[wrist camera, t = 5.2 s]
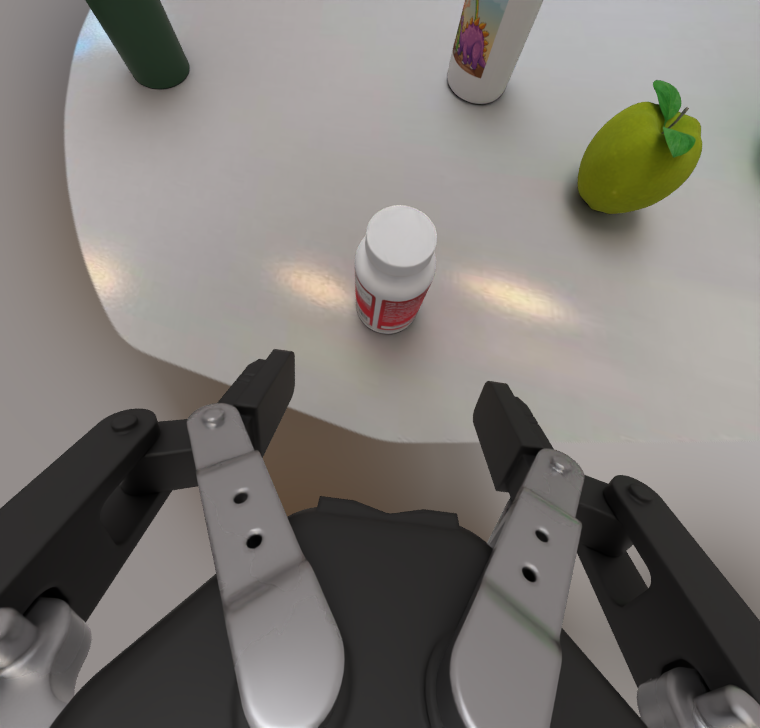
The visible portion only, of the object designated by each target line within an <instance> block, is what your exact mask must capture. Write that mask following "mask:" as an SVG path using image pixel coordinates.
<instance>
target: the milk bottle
mask: <svg viewBox="0 0 760 728" xmlns="http://www.w3.org/2000/svg"><path fill="white" fill-rule="evenodd" d="M542 2H543V0H465V3H464V7H463V11H462V15H461V19H460V23H459V27H458V31H457V35H456V39H455V43H454V47H453V51H452V55H451V59H450V63H449V68H448V73H447V74H448V83H449V86H450V87H451V89H452V91H453V92H454V93H455V94H456V95H457V96H459V97H460V98H462V99H464V100H466V101H468V102H471V103H476V104H485V103H490V102H492V101H494V100H496V99H497V98H499V97H500V95H501V94H502V93H503V92H504V90H505V88H506V86H507V84H508V82H509V79H510V77H511V75H512V72H513V70H514V68H515V65H516V63H517V61H518V58H519V56H520V54H521V51H522V49H523V47H524V44H525V42H526V40H527V37H528V35H529V33H530V30H531V28H532V26H533V23H534V21H535V19H536V16H537V14H538V12H539V9H540V7H541V4H542Z"/></svg>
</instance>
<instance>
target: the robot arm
mask: <svg viewBox="0 0 760 728" xmlns="http://www.w3.org/2000/svg"><path fill="white" fill-rule="evenodd" d="M294 386H295V356H294V352H292V351H285V350H278V349H274V350H273V351H272V352H271V354H270V355H269V356H268V358H267V359H266V360H263V359H258V360H257V361H255V362H253V363H251V364H249V365H248V366H247V367H246V369H245V370H244V371H243V372H242V374H241V375H240V376H239V377H238V378H237V381H235V382H234V383H233V384H232V386H231V387H230V388H229V389H228V391H227V392H226V393H225V394H224V395H223V397H222V398H221V399H220V400H219V402H218V403H216V404H210V405H206V406H204V407H201V408H199V409H197V410H196V411H194V412H193V413H192V414H191V415H190V416H189V418H188V419H184V420H173V421H161V422H158V421H157V418H156V416H155V414H154V413H153V412H152V411H150V410H146V409H129V410H124V411H120V412H118V413H115V414H113V415H110V416H108V417H107V418H105V419H103V420H102V421H101V422H99V423H98V424H97V425H96V426H95V427H94V428H92V429H91V430H90V431H89V432H88V433H87V434H85V435H84V436H83V437H82V438H81V439H80V440H78V441H77V442H76V443H75V444H74V445H73V446H72V447H70V448H69V449H68V450H67V451H66V452H65V453H64V454H62V455H61V456H60V457H59V458H58V459H57V460H56V461H54V462H53V463H52V464H51V465H50V466H49V467H48V468H46V469H45V470H44V471H43V472H42V473H41V474H39V475H38V476H37V477H36V478H35V479H34V480H32V481H31V482H30V483H29V484H28V485H27V486H26V487H25V488H23V489H22V490H21V491H20V492H19V493H18V494H16V495H15V496H14V497H13V498H12V499H11V500H10V501H8V502H7V503H6V504H5V505H4V506H3V507H2V508H1V509H0V728H760V621H759V619H758V618H757V617H756V616H755V615H754V613H753V612H752V611H751V609H750V608H749V607H748V606H747V604H746V603H745V602H744V601H743V599H742V598H741V597H740V596H739V594H738V593H737V592H736V591H735V589H734V588H733V587H732V586H731V585H730V583H729V582H728V581H727V579H726V578H725V577H724V576H723V574H722V573H721V572H720V571H719V569H718V568H717V567H716V566H715V564H713V562H712V561H711V560H710V558H709V557H708V556H707V555H706V553H705V552H704V551H703V549H702V548H701V547H700V546H699V544H698V543H697V542H696V541H695V540H694V538H693V537H692V536H691V535H690V533H689V532H688V531H687V530H686V528H685V527H684V526H683V525H682V523H681V522H680V521H679V520H678V518H677V517H676V516H675V515H674V513H673V512H672V511H671V510H670V509H669V507H668V506H667V505H666V503H665V502H664V501H663V500H662V498H661V497H660V496H659V495H658V494H657V493H656V492H655V491H653V490H652V489H651V488H650V487H648V486H647V485H645V484H644V483H642V482H640V481H638V480H636V479H634V478H631V477H629V476H623V475H618V476H615V477H614V478H613V479H612V480H611V481H610V483H609V484H607V483H605V482H602V481H599V480H597V479H594V478H591V477H589V476H586V475H584V473H583V470H582V469H581V467H580V466H579V465H578V464H577V463H576V462H575V461H574V460H573V459H572V458H570V457H569V456H568V455H566V454H564V453H562V452H560V451H557V450H554V449H553V447H552V445H551V444H550V442H549V440H548V439H547V437H546V435H545V434H544V432H543V431H542V429H541V427H540V426H539V425H538V422H537V421H536V419H535V417H533V414H532V413H531V411H530V409H529V408H528V406H527V405H526V404H525V403H524V402H523V401H521V400H520V399H519V398H518V397H515V396H514V395H513V393H512V391H511V390H510V388H509V386H508V385H507V384H506V383H499V382H492V381H487V382H486V383H485V385H484V387H483V389H482V392H481V394H480V397H479V399H478V402H477V404H476V407H475V409H474V413H473V423H474V426H475V429H476V432H477V435H478V438H479V441H480V444H481V447H482V450H483V453H484V456H485V459H486V462H487V465H488V468H489V471H490V474H491V477H492V480H493V483H494V486H495V489H496V491H501V492H509V494H510V499H509V501H508V502H507V504H506V506H505V508H504V510H503V512H502V514H501V516H500V518H499V520H498V522H497V524H496V526H495V528H494V530H493V532H492V535H491V537H490V538H489V540H488V543H486V542H485V541H484V540H482V539H481V538H480V537H478V536H477V535H476V534H474V533H473V532H471V531H469V530H467V529H465V528H463V527H461V526H459V523H458V517H457V514H456V513H448V512H440V511H432V510H416V511H408V512H400V513H392V514H389V513H385V512H383V511H380V510H377V509H375V508H372V507H370V506H367V505H364V504H362V503H359V502H357V501H354V500H346V499H339V498H331V497H322V496H320V498H319V502H318V506H317V507H315V508H309V509H305V510H302V511H299V512H296V513H294V514H292V515H290V516H288V517H287V516H286V513H285V511H284V508H283V506H282V504H281V501H280V499H279V497H278V494H277V492H276V490H275V487H274V485H273V482H272V480H271V478H270V475H269V473H268V471H267V468H266V466H265V464H264V462H263V459H262V458H263V456H264V453H265V452H266V449H267V447H268V445H269V443H270V441H271V439H272V437H273V435H274V433H275V431H276V429H277V427H278V425H279V423H280V421H281V419H282V416H283V415H284V413H285V410H286V408H287V406H288V404H289V402H290V400H291V398H292V396H293V392H294ZM196 486H199V491H200V496H201V501H202V506H203V511H204V516H205V520H206V525H207V530H208V535H209V540H210V545H211V550H212V555H213V559H214V564H215V570H216V574H215V575H214V576H213V577H212V578H210V579H209V580H208V581H207V582H206V583H204V584H203V585H202V586H201V587H200V588H198V589H197V590H196V591H195V592H194V593H192V594H191V595H190V596H189V597H188V598H187V599H185V600H184V601H183V602H182V603H180V604H179V605H178V606H177V607H176V608H175V609H173V610H172V611H171V612H170V613H169V614H167V615H166V616H165V617H164V618H162V619H161V620H160V621H159V622H158V623H157V624H155V625H154V626H153V627H152V628H150V629H149V630H148V631H147V632H146V633H144V634H143V635H142V636H141V637H140V638H138V639H137V640H136V641H135V642H134V643H132V644H131V645H130V646H129V647H128V648H126V649H125V650H124V651H123V652H122V653H120V654H119V655H118V656H117V657H116V658H114V659H113V660H112V661H111V662H110V663H108V664H107V665H106V666H105V667H104V668H102V669H101V670H100V671H99V672H98V673H97V674H95V676H93V677H92V678H91V679H90V680H89V681H88V682H87V683H86V684H85V685H84V686H83V687H82V688H81V689H80V690H79V691H78V692H77V694H76V695H75V696H74V689H75V684H76V680H77V677H78V673H79V671H80V669H81V667H82V665H83V663H84V661H85V659H86V657H87V655H88V652H89V649H90V645H91V631H90V628H89V626H88V625H87V624H86V621H87V620H88V618H89V616H90V615H91V613H92V612H93V610H94V609H95V607H96V606H97V604H98V603H99V601H100V600H101V598H102V596H103V595H104V594H105V592H106V590H107V589H108V588H109V586H110V584H111V583H112V581H113V580H114V578H115V577H116V575H117V574H118V572H119V571H120V569H121V568H122V566H123V564H124V563H125V562H126V560H127V559H128V557H129V556H130V554H131V552H132V551H133V549H134V548H135V546H136V545H137V543H138V542H139V540H140V539H141V537H142V536H143V534H144V532H145V531H146V530H147V528H148V526H149V525H150V523H151V522H152V520H153V519H154V517H155V516H156V514H157V513H158V511H159V510H160V508H161V507H162V505H163V504H164V502H165V500H166V499H167V498H168V496H169V494H170V493H171V492H172V490H177V489H183V488H190V487H196ZM632 545H634V546H635V548H636V549H637V551H638V553H639V554H640V556H641V558H642V559H643V561H644V562H645V564H646V566H647V567H648V569H649V572H650V575H651V585H650V587H649V588H648V587H647V586H646V584H645V582H644V580H643V579H642V577H641V576H640V574H639V572H638V570H637V569H636V567H635V565H634V563H633V562H632V560H631V558H630V557H629V555H628V553H627V552H626V550H627V549H629V548H630V547H631V546H632ZM576 553H577V554H578V556H579V558H580V560H581V562H582V565H583V567H584V569H585V571H586V574H587V575H588V578H589V580H590V583H591V585H592V587H593V589H594V591H595V594H596V596H597V598H598V600H599V603H600V605H601V607H602V609H603V611H604V614H605V616H606V618H607V620H608V623H609V625H610V627H611V629H612V632H613V634H614V636H615V638H616V640H617V643H618V645H619V647H620V649H621V652H622V653H623V656H624V658H625V660H626V663H627V665H628V667H629V669H630V672H631V674H632V676H633V678H634V681H635V683H636V685H637V687H638V691H637V705H638V709H639V713H640V716H641V717H639V716H638V715H637V714H636V713H635V711H634V710H633V709H632V708H631V707H630V706H629V705H628V704H627V702H626V701H625V700H624V699H623V698H622V697H621V695H620V694H619V693H618V692H617V691H616V690H615V689H614V687H613V686H612V685H611V684H610V683H609V682H608V680H607V679H606V678H605V677H604V676H603V675H602V674H601V672H600V671H599V670H598V669H597V668H596V667H595V666H594V664H593V663H592V662H591V661H590V660H589V659H588V658H587V656H586V655H585V654H584V653H583V652H582V650H581V649H580V648H579V647H578V646H577V645H576V644H575V643H574V641H573V640H572V639H571V638H570V637H569V635H568V634H567V633H566V632H565V631H564V630H563V629H562V623H563V618H564V612H565V608H566V603H567V597H568V593H569V588H570V583H571V578H572V573H573V568H574V563H575V558H576Z"/></svg>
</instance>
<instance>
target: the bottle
mask: <svg viewBox="0 0 760 728" xmlns="http://www.w3.org/2000/svg"><path fill="white" fill-rule="evenodd" d="M86 2H87V3H88V5H89V7H90V8H91V10H92V11H93V13H94V15H95V16H96V18H97V19H98V21H99V23H100V24H101V26H102V27H103V29H104V30H105V32H106V34H107V35H108V37H109V38H110V40H111V42H112V43H113V45H114V46H115V48H116V50H117V51H118V53H119V54H120V56H121V58H122V59H123V61H124V62H125V64H126V65H127V67H128V69H129V70H130V72H131V73H132V75H133V77H134V78H135V79H136V80H137V81H138V82H139V83H140V84H142V85H144V86H146V87H149V88H155V89H164V88H169V87H173V86H175V85H177V84H179V83H181V82H182V81H183V80H184V79H185V78H186V77H187V75H188V72H189V63H188V61H187V58H186V56H185V54H184V52H183V50H182V47H181V45H180V43H179V41H178V39H177V37H176V34H175V32H174V30H173V28H172V26H171V23H170V21H169V19H168V17H167V15H166V12H165V10H164V8H163V6H162V4H161V1H160V0H86Z"/></svg>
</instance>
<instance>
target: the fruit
mask: <svg viewBox="0 0 760 728" xmlns="http://www.w3.org/2000/svg"><path fill="white" fill-rule="evenodd" d="M653 87H654V89H655V91H656V93H657V96H658V101H659V104H654V103H651V102H641V103H637V104H635V105H632V106H630V107H628V108H626V109H624V110H623V111H621V112H620V113H618V114H617V115H615V116H614V117H613V118H612V119H610V120H609V121H608V122H607V123H606V124H605V125H604V126H603V127H602V128H601V129H600V130H599V131H598V133H597V134H596V135H595V136H594V138H593V139H592V141H591V142H590V144H589V145H588V147H587V149H586V151H585V153H584V155H583V158H582V161H581V164H580V168H579V173H578V191H579V194H580V196H581V197H582V198H583V199H584V201H585V202H586V203H587V204H588V205H589V206H590V208H591V209H593V210H597V211H601V212H605V213H607V214H617V213H625V212H631V211H635V210H639V209H642V208H646V207H648V206H651V205H653V204H655V203H657V202H659V201H660V200H662V199H664V198H665V197H667V196H668V195H670V194H671V193H672V192H674V191H675V190H676V189H677V188H679V187H680V186H681V185H682V184H683V183H684V182H685V181H686V180H687V178H688V177H689V176H690V175H691V173H692V172H693V170H694V168H695V167H696V165H697V163H698V160H699V158H700V155H701V151H702V140H701V126H700V123H699V122H698V120H697V119H695V118H693V117H691V116H688V115H685V113H686V111H687V110H688V109H689V108H688V107H687V108H685V109H684V110H683V112H682V113H680V112H678V111H679V109H680V107H681V97H680V95H679V92H678V91H677V89H676V88H675V87H674V86H672V85H671V84H669V83H667V82H664V81H661V80H656V81H654V82H653Z"/></svg>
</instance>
